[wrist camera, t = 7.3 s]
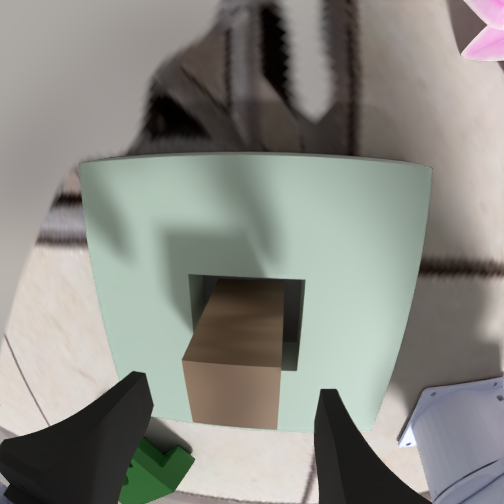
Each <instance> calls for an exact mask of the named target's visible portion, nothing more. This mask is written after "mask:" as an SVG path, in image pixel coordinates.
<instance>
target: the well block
mask: <svg viewBox="0 0 504 504" xmlns="http://www.w3.org/2000/svg"><path fill="white" fill-rule="evenodd" d="M79 168H80V182H81V193H82V203H83V212H84V220H85V228H86V235H87V242H88V248H89V255H90V260H91V266H92V272H93V277H94V282H95V287H96V292H97V297H98V302H99V306H100V311H101V315H102V319H103V324H104V328H105V332H106V336H107V339H108V343H109V347H110V351H111V354H112V358H113V361H114V365H115V368H116V371H117V375H118V378H119V381H121V380H122V379H123V378H124V377H126V376H127V375H128V374H129V373H131V372H132V371H137V372H143V373H146V376H147V380H148V384H149V388H150V392H151V396H152V400H153V403H154V407H153V411H152V414H151V416H152V417H157V418H162V419H168V420H174V421H180V422H186V423H193V424H200V425H207V426H215V427H224V428H233V429H244V430H257V431H273V432H303V433H314V420H315V415H316V410H317V405H318V400H319V394H320V389H337V390H338V392H339V395H340V397H341V399H342V401H343V403H344V405H345V407H346V409H347V411H348V413H349V415H350V417H351V418H352V420H353V422H354V423H355V425H356V427H357V428H358V430H359V431H371V430H372V428H373V425H374V423H375V420H376V418H377V415H378V412H379V410H380V407H381V404H382V401H383V399H384V396H385V393H386V390H387V387H388V384H389V381H390V378H391V375H392V372H393V369H394V366H395V363H396V359H397V356H398V353H399V349H400V346H401V342H402V339H403V335H404V331H405V328H406V324H407V320H408V316H409V312H410V308H411V304H412V299H413V295H414V291H415V286H416V281H417V276H418V271H419V266H420V261H421V255H422V250H423V244H424V238H425V231H426V224H427V217H428V209H429V201H430V192H431V182H432V170H433V168H431V167H427V166H423V165H420V164H416V163H412V162H408V161H399V160H390V159H381V158H370V157H359V156H346V155H332V154H314V153H292V152H187V153H164V154H147V155H133V156H120V157H110V158H104V159H99V160H94V161H89V162H84V163H79ZM218 279H238V280H267V281H284V313H283V340H282V363H281V381H280V397H279V412H278V426H277V430H270V429H252V428H239V427H228V426H218V425H210V424H202V423H194V422H193V420H192V415H191V410H190V405H189V400H188V394H187V389H186V383H185V378H184V372H183V366H182V358H183V356H184V354H185V351H186V349H187V347H188V345H189V342H190V340H191V338H192V336H193V334H194V331H195V329H196V327H197V325H198V323H199V320H200V318H201V316H202V314H203V312H204V309H205V307H206V305H207V303H208V301H209V299H210V296H211V294H212V292H213V290H214V288H215V286H216V283H217V281H218Z"/></svg>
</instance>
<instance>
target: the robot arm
mask: <svg viewBox="0 0 504 504" xmlns="http://www.w3.org/2000/svg"><path fill="white" fill-rule="evenodd" d="M503 387H504V377H500V378H494V379H489V380H483V381H477V382H470V383H463V384H456V385H449V386H440V387H431V388H426V389H425V390H424V391H423V392H422V394H421V396H420V399H419V401H418V403H417V405H416V408H415V410H414V412H413V414H412V416H411V418H410V421H409V423H408V425H407V427H406V429H405V431H404V433H403V435H402V437H401V439H400V441H399V443H398V445H399V447H401V448H402V447H410V446H417V448H418V451H419V455H420V458H421V462H422V465H423V469H424V472H425V476H426V480H427V484H428V487H429V491H430V495H431V499H432V502H430V501H429V500H427V499H426V498H424V497H423V496H421V495H419V494H418V493H417V492H415V491H414V490H413V489H411V488H410V487H409V486H408V485H406V484H405V483H404V482H403V481H402V480H401V479H400V478H398V477H397V476H396V475H395V474H394V473H393V472H392V471H391V470H390V469H389V468H388V467H387V466H386V465H385V464H384V463H383V462H382V461H381V459H380V458H379V457H378V456H377V455H376V454H375V452H374V451H373V450H372V449H371V447H370V446H369V445H368V443H367V442H366V440H365V439H364V437H363V436H362V435H361V433H360V431H359V430H358V428H357V427H356V425H355V423H354V422H353V420H352V418H351V417H350V415H349V413H348V411H347V409H346V407H345V405H344V403H343V401H342V399H341V397H340V395H339V392H338V390H337V389H320V394H319V400H318V405H317V410H316V415H315V420H314V447H315V456H316V465H317V475H318V485H319V504H504V388H503ZM153 407H154V403H153V400H152V396H151V392H150V388H149V384H148V380H147V376H146V373H143V372H137V371H132V372H131V373H129V374H128V375H127V376H126V377H124V378H123V379H122V380H121V381H120V382H118V383H117V384H116V385H115V386H113V387H112V388H111V389H110V390H108V391H107V392H106V393H105V394H103V395H102V396H101V397H99V398H98V399H97V400H95V401H94V402H92V403H91V404H89V405H88V406H87V407H85V408H84V409H82V410H81V411H79V412H77V413H76V414H74V415H72V416H70V417H69V418H67V419H65V420H63V421H61V422H59V423H57V424H54V425H52V426H50V427H47V428H45V429H43V430H40V431H37V432H34V433H31V434H27V435H24V436H19V437H15V438H10V439H5V440H4V441H3V442H2V443H1V444H0V473H1V474H2V475H3V476H4V477H5V478H6V480H7V481H8V482H9V483H10V485H9V486H8V488H7V487H6V486H5V485H4V484H2V483H1V482H0V504H118V500H119V496H120V492H121V489H122V485H123V482H124V479H125V476H126V473H127V470H128V467H129V465H130V462H131V460H132V458H133V456H134V454H135V452H136V450H137V448H138V445H139V443H140V441H141V439H142V437H143V435H144V433H145V431H146V428H147V426H148V424H149V421H150V417H151V414H152V411H153Z"/></svg>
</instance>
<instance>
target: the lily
mask: <svg viewBox="0 0 504 504" xmlns="http://www.w3.org/2000/svg"><path fill="white" fill-rule="evenodd" d="M464 1H465V2H466V3H467V5H468V6H469V7H470V8H471V9H472V10H473V11H474V12H475V13H476V14H477V15H478V16H479V17H480V18H481V19H482V21H484V22H485V23H486V24H487V26H486V27H485V28H484V29H483V30H482V31H481V32H480V33H479V34H478V35H477V36H476V37H475V38H474V39H473V40H472V41H471V42H470V44H469V45H468V46H467V47H466V48H465V49H464V51H463V52H462V53H461V56H463V57H464V58H465V59H470V60H480V61H502V60H504V0H464Z"/></svg>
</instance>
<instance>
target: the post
mask: <svg viewBox="0 0 504 504" xmlns="http://www.w3.org/2000/svg"><path fill="white" fill-rule="evenodd" d="M283 313H284V281H267V280H238V279H218V281H217V283H216V286H215V288H214V290H213V292H212V294H211V296H210V299H209V301H208V303H207V305H206V307H205V309H204V312H203V314H202V316H201V318H200V320H199V323H198V325H197V327H196V329H195V331H194V334H193V336H192V338H191V340H190V342H189V345H188V347H187V349H186V351H185V354H184V356H183V358H182V366H183V372H184V378H185V383H186V389H187V394H188V400H189V405H190V410H191V415H192V420H193V422H194V423H202V424H210V425H218V426H228V427H239V428H252V429H270V430H277V426H278V412H279V397H280V381H281V363H282V340H283Z"/></svg>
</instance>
